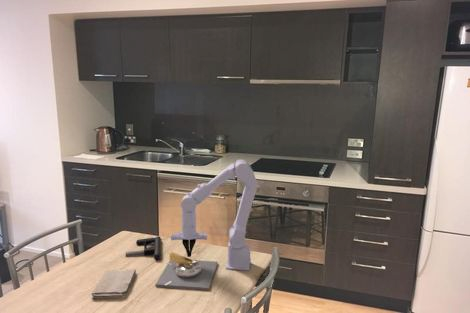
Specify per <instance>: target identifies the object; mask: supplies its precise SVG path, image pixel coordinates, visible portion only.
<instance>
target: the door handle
mask: <svg viewBox="0 0 470 313" xmlns="http://www.w3.org/2000/svg"><path fill="white" fill-rule="evenodd" d="M162 241H163V238H162V237H161V236H159V235H157V236H156V237H149V238H139V239H136V243H135V244H136V246H143V245H144V246H143V247H144V248H143V249H141V250H133V251H126V252H125V258H126V257H137V256H138V257H139V256H144V257H146V256H147V257H148V256H153V259H154V261H155V260H156V261H159V260H160V259H161V257H162V256H163V254H162ZM147 245H148V246H149V247H147ZM152 245H153V246H152Z"/></svg>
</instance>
